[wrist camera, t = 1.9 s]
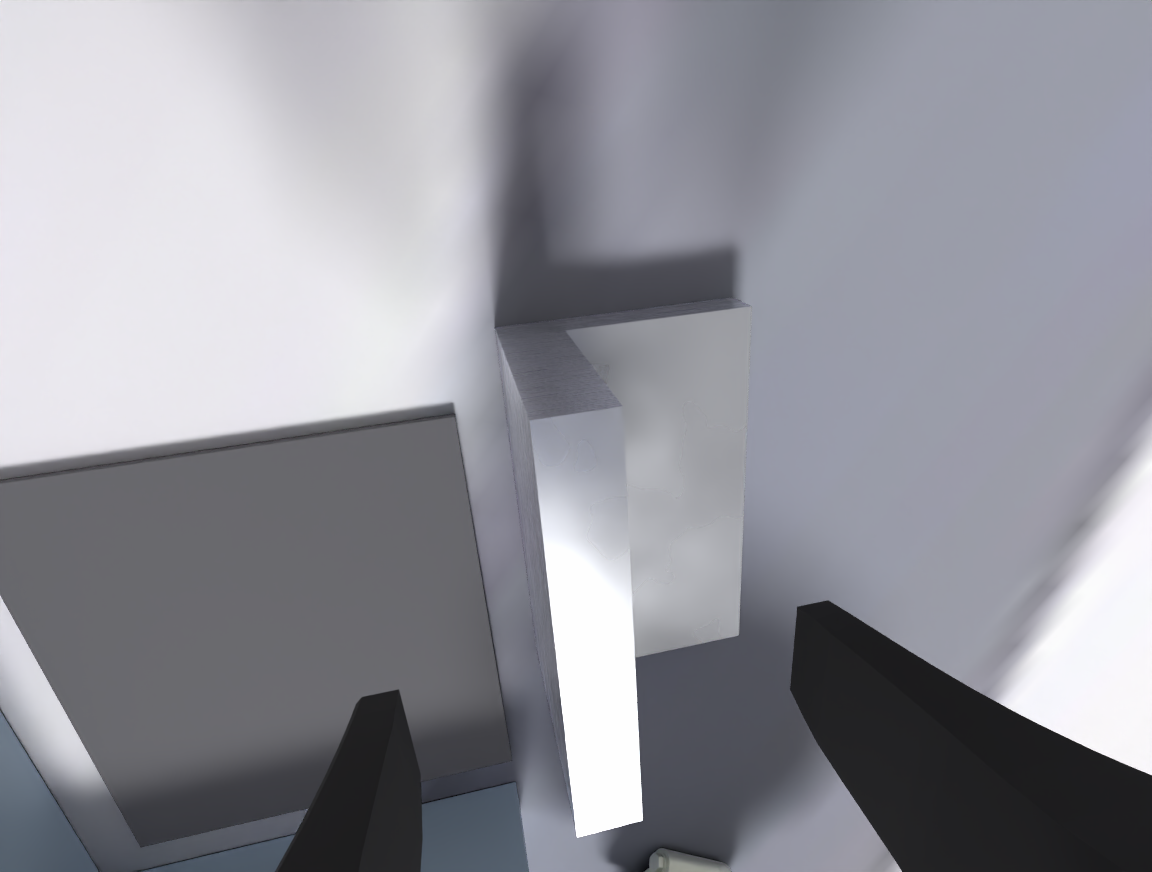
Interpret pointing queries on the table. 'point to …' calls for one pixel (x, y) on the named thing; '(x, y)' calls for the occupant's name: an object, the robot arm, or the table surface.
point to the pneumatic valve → (683, 863)
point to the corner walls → (64, 868)
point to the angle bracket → (625, 514)
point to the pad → (255, 615)
